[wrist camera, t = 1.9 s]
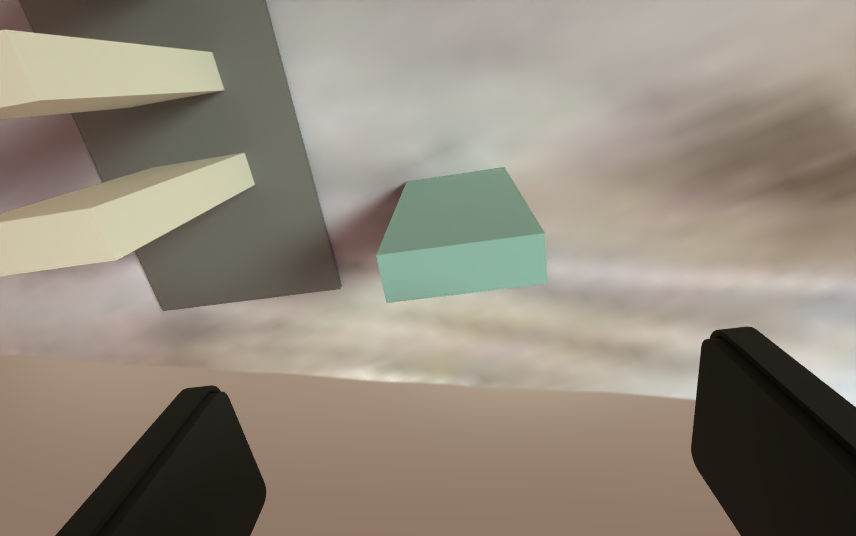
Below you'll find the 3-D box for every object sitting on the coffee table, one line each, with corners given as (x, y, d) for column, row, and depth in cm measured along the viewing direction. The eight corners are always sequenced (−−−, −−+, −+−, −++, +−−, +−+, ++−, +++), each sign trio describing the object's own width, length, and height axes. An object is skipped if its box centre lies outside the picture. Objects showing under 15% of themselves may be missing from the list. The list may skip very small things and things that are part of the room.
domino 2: (152, 167, 24) (-60, 231, 14) (244, 152, 24) (91, 208, 14) (165, 198, 25) (-28, 280, 15) (254, 184, 24) (117, 260, 14)
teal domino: (406, 181, 24) (376, 255, 14) (504, 167, 24) (544, 233, 14) (412, 212, 25) (386, 302, 15) (507, 198, 24) (547, 283, 14)
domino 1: (112, 71, 22) (-167, 65, 12) (212, 52, 22) (4, 29, 12) (128, 107, 23) (-125, 131, 13) (224, 90, 22) (39, 100, 12)
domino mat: (-78, -227, 18) (-89, -233, 18) (184, -303, 17) (178, -311, 16) (166, 307, 28) (163, 310, 28) (341, 286, 27) (340, 289, 27)
